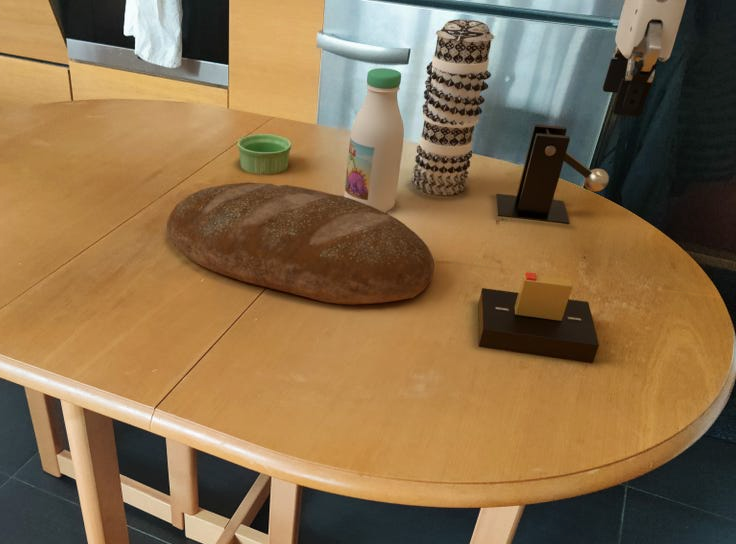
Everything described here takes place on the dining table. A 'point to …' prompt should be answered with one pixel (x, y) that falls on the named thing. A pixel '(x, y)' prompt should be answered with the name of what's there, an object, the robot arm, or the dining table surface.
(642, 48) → the robot arm
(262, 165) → the ramekin
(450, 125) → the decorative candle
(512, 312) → the plate
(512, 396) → the dining table surface
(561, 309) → the lock knob
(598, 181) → the latch lever
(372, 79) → the milk bottle
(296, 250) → the bread
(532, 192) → the latch bracket
